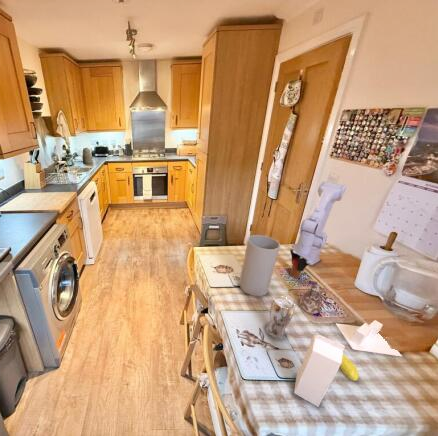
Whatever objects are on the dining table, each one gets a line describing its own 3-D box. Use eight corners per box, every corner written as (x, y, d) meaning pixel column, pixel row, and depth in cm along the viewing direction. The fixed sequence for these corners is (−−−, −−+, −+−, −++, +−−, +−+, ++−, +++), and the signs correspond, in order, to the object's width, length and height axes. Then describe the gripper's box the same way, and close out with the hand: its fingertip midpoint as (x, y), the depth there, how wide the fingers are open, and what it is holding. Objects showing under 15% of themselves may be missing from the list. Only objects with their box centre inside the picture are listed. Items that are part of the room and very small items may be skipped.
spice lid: (296, 268, 111) (298, 264, 110) (289, 262, 116) (290, 258, 115) (306, 267, 112) (308, 263, 111) (298, 261, 117) (300, 257, 116)
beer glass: (283, 327, 88) (293, 297, 82) (287, 342, 82) (298, 311, 76) (263, 322, 90) (272, 293, 84) (265, 337, 85) (274, 306, 78)
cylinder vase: (238, 292, 106) (247, 246, 95) (239, 276, 116) (248, 233, 106) (268, 300, 101) (281, 252, 91) (266, 282, 112) (278, 237, 101)
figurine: (299, 309, 96) (307, 287, 91) (298, 298, 102) (306, 277, 97) (320, 316, 93) (329, 293, 88) (317, 304, 99) (326, 282, 94)
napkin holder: (353, 349, 80) (359, 338, 77) (334, 323, 90) (339, 312, 88) (403, 356, 77) (411, 345, 75) (378, 328, 88) (384, 317, 85)
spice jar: (290, 271, 119) (294, 258, 116) (299, 274, 117) (304, 261, 114) (289, 275, 116) (293, 262, 113) (298, 279, 114) (303, 265, 110)
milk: (296, 376, 72) (317, 325, 63) (319, 389, 69) (345, 337, 60) (293, 393, 67) (315, 341, 58) (318, 408, 64) (346, 355, 55)
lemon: (344, 381, 70) (349, 373, 69) (331, 357, 77) (335, 349, 76) (360, 384, 70) (365, 376, 68) (345, 359, 77) (349, 351, 75)
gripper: (288, 236, 116) (282, 258, 121) (304, 251, 103) (296, 276, 108) (303, 236, 115) (295, 259, 121) (320, 252, 102) (311, 276, 108)
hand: (297, 267), depth 115 cm, fingers closed on spice lid, 5 cm apart
